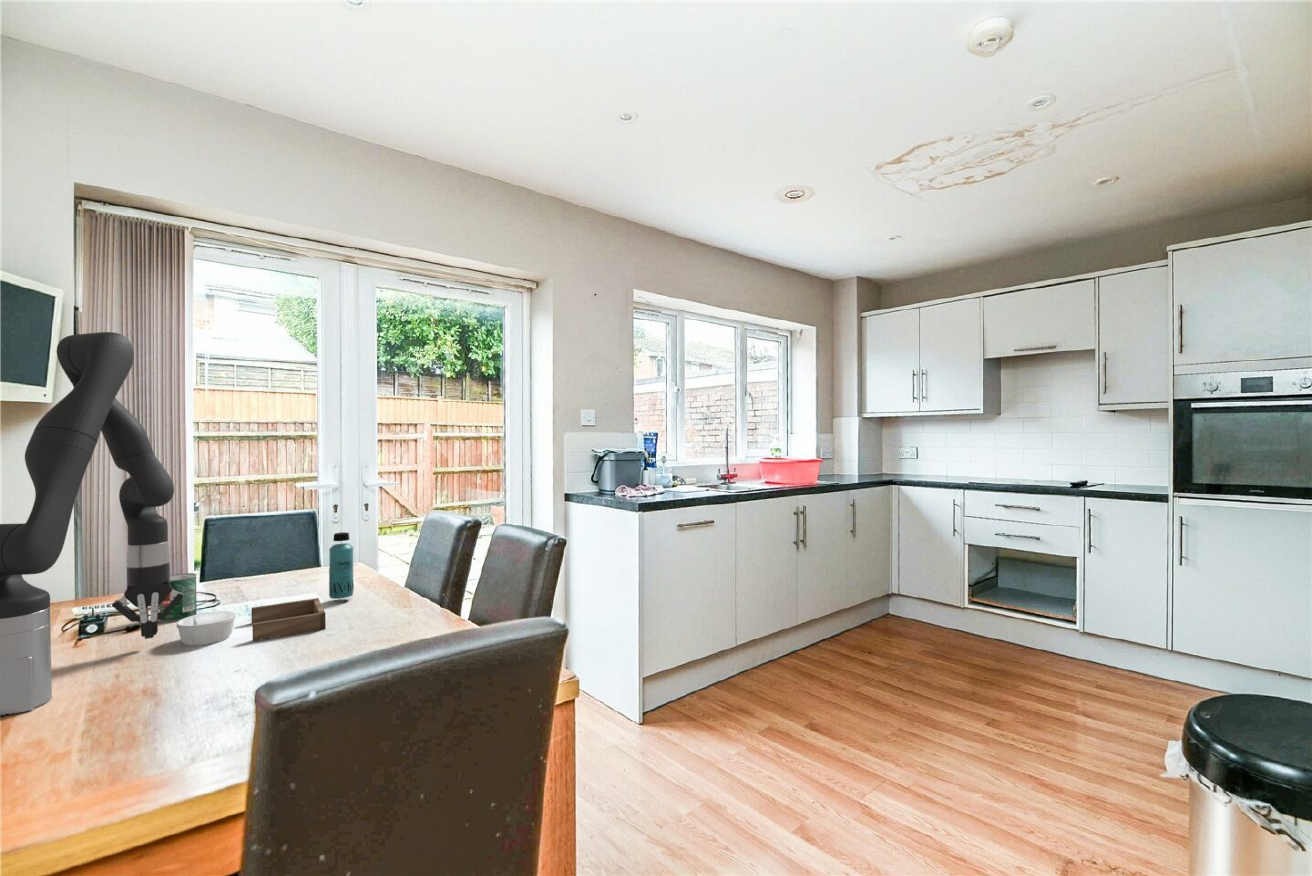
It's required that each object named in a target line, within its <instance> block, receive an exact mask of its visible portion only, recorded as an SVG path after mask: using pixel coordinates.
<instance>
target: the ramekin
mask: <svg viewBox="0 0 1312 876" xmlns="http://www.w3.org/2000/svg"><path fill="white" fill-rule="evenodd" d="M235 619H236V613H235V612H233V611H230V610H220V611H219V610H217V611H209V612H203V613H197V615H193V616H190V617H187V618H184V619H182V620H180V621H176V629H178V634H179V638H180V642H181V643H182V644H183V645H184V646H186V647H187V646H189V647H197V646H198V647H199V646H206V645H211V643H212V644H216V643H219V642H218V641H220V642H222V641H224V639H225V640H227V639H228V638H229V637H230V636H231V635H232V634H233V629H234V628H233V627H234V622H235ZM227 637H228V638H227ZM226 638H227V639H226ZM221 640H222V641H221ZM215 642H216V643H215Z"/></svg>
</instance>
